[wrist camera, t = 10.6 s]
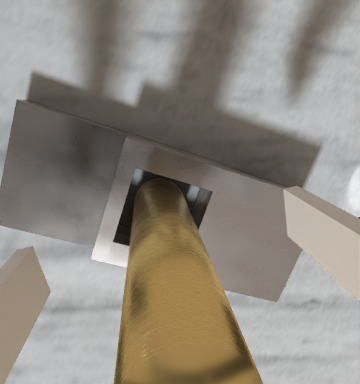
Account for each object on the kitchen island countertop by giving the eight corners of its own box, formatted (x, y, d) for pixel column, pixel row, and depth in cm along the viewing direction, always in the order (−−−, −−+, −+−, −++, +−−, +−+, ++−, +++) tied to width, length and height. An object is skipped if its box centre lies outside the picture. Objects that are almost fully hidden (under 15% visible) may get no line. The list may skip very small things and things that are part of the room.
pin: (129, 184, 20) (90, 369, 6) (178, 173, 21) (255, 327, 6) (141, 230, 21) (132, 477, 7) (188, 219, 22) (271, 440, 7)
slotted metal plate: (4, 215, 20) (-20, 233, 17) (26, 100, 18) (4, 98, 15) (263, 279, 24) (279, 302, 21) (304, 190, 22) (327, 202, 19)
